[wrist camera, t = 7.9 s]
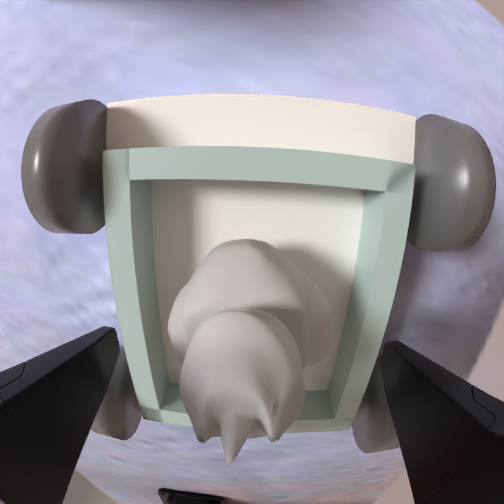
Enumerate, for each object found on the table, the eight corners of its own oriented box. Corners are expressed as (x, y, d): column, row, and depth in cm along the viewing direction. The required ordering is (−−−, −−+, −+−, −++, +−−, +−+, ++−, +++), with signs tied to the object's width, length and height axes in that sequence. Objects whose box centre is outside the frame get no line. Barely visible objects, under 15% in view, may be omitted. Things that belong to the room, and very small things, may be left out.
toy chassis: (367, 403, 16) (388, 465, 11) (128, 391, 16) (100, 450, 11) (427, 126, 11) (499, 121, 6) (95, 111, 11) (22, 101, 6)
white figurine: (314, 217, 11) (409, 347, 3) (320, 360, 13) (353, 519, 5) (172, 234, 11) (42, 362, 4) (204, 369, 13) (166, 522, 6)
